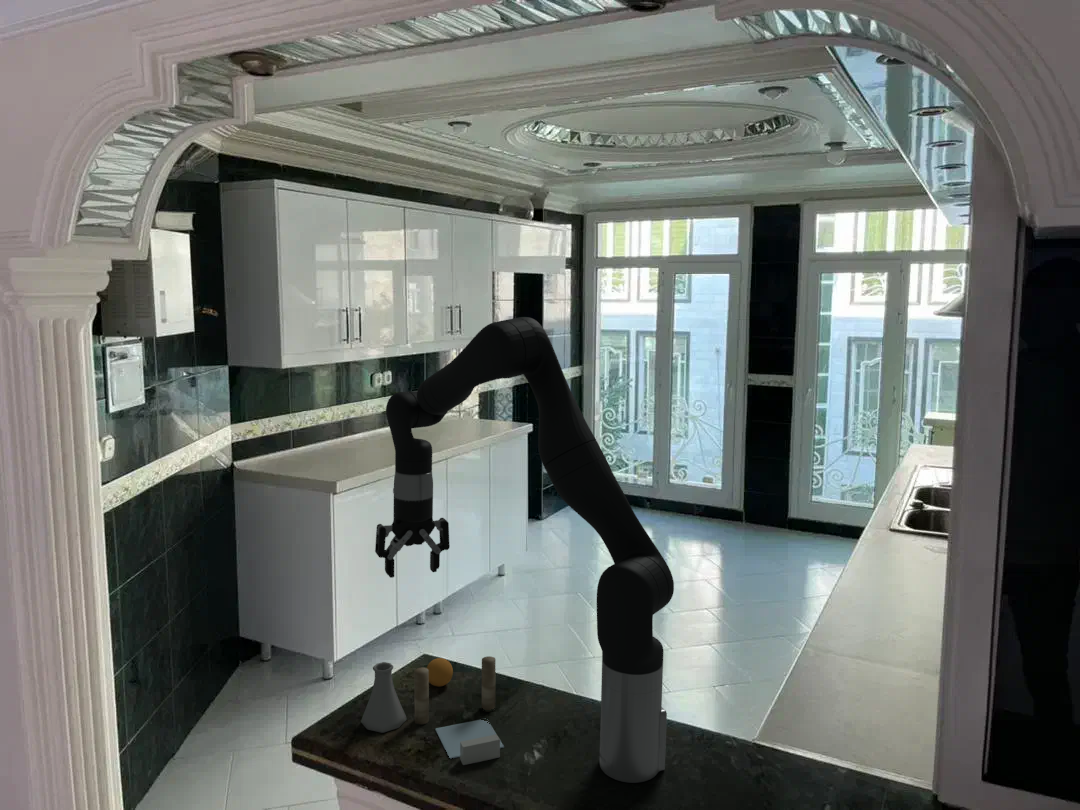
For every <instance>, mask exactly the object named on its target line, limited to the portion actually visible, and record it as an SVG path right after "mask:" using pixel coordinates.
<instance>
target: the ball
mask: <svg viewBox="0 0 1080 810" xmlns="http://www.w3.org/2000/svg"><path fill="white" fill-rule="evenodd" d="M426 668H427V669H428V670H429V684H431V685H432V686H433V687H443V686H445V685H448V683H449V682H451V680H452V678H453V675H454V670H453V666H452V664H451V662H450V660H448V659H445V658H443V657H437V658H434V659H432V660H431V661H430V662H428V664H427V666H426Z"/></svg>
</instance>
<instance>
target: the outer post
mask: <svg viewBox="0 0 1080 810" xmlns="http://www.w3.org/2000/svg"><path fill="white" fill-rule="evenodd" d="M413 673H414V674H413V676H414V677H413V678H414V679H413V680H414V681H413V683H414V685H413V686H414V690H413V691H414V692H413V693H414V694H413V695H414V723H415V724H417V725H426V724H428V723H429V721H430V703H429V702H430V698H429V697H430V696H429V695H430V691H429V690H430V688H429V687H430V685H429V684H430V682H429V670H428V669H427V667H418V668H415V669H414V670H413Z"/></svg>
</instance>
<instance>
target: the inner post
mask: <svg viewBox="0 0 1080 810" xmlns="http://www.w3.org/2000/svg"><path fill="white" fill-rule="evenodd" d="M482 708H483V709H485V710H491V709H494V708H495V709H496V657H494V656H484V657H481V709H482ZM495 709H494V710H495Z"/></svg>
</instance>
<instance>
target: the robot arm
mask: <svg viewBox="0 0 1080 810" xmlns="http://www.w3.org/2000/svg"><path fill="white" fill-rule="evenodd" d="M519 376H524V377H525V379H526V381H527V383H528V385H529V387H530V389H531V390H532V393H533V396H534V398H535V400H536V403H537V408H538V431H537V434H538V437H537V439H538V440H537V441H538V442H537V445H538V454H539V457H540V460H541V463H542V466H543V467H544V469H545V471H546V474H547V476H548V477H549V480H550V482H551V483H552V486H553V487H554V489H555V491H556V493H558V496H559V497H560V498H561V499H562V500H563V501H564V502H565V503H566V505H568V506H569V508H571V509H572V510H573V511H574V512H575V513H576V514H578V516H579V517H581V519H583V520H584V521H586V523H588V524H589V526H591V527H592V528H593V529H594V530H595V532H596V533H597V534H598V536H599V537H600V538H601V540H602V541H603V544H604V545H605V547H606V550H607V551H608V554H609V555H610V557H611V559H612V562H613V564H612V565H610V566H608V567H607V568H605V570H603V572H602V574H600V576H599V580H598V582H597V583H598V584H597V587H596V629H597V630H596V631H597V641H598V645H599V646H600V648H601V686H600V687H601V692H600V693H601V694H600V695H601V696H600V697H601V699H600V729H599V730H600V732H599V733H600V734H599V735H600V737H599V752H598V753H599V767H600V769H601V772H603V773H604V774H605V776H608V777H610V778H612V779H614V780H616V781H619V782H622V783H628V784H629V783H633V784H637V783H643V782H647V781H649V780H651V779H653V778H655V776H657V774H658V773H659V772H661V771H664V770H665V769H666V768H665V767H666V750H667V749H666V746H667V717H668V716H667V715H668V713H667V710H666V709H665V708H663V707H662V706H663V704H662V701H663V679H664V678H663V677H664V676H663V675H664V647H663V644H662V643H661V641H660V640H659V639H658V638H657V637H655V636H654V635H653V632H654V631H653V629H654V627H653V621H654V620H653V615H654V614H657V613H658V612H659V611H661V610H662V609H663V608H665V607H666V606H667V605H668V604H669V603H670V602H671V600H672V598H673V596H674V590H675V582H674V578H673V575H672V571H671V570H670V568H669V565H668V564H667V562H666V560H665V559H664V556H663V555H662V554H661V552H660V551H659V549H658V548H657V546H656V545H655V543H654V541H653V540H652V538H651V537H650V535H649V534H648V532H647V531H646V529H645V527H644V526H643V525H642V524H641V522H640V521H639V519H638V517H637V515H636V514H635V511H634V510H633V508H632V506H631V504H630V502H629V500H628V499H627V496H626V495H625V493H624V491H623V489H622V487H621V485H620V484H619V482H618V480H617V478H616V476H615V474H614V473H613V470H612V468H611V466H610V464H609V462H608V460H607V458H606V456H605V454H604V452H603V451H602V448H601V447H600V444H599V443H598V440H597V439H596V437H595V436H594V433H593V432H592V430H591V428H590V427H589V424H588V423H587V421H586V419H585V417H584V415H583V413H582V410H581V409H580V407H579V404H578V402H577V400H576V398H575V396H574V395H573V392H572V390H571V388H570V386H569V384H568V381H567V379H566V377H565V375H564V372H563V369H562V366H561V364H560V362H559V359H558V356H557V354H556V352H555V349H554V346H553V344H552V341H551V340H550V337H549V336H548V334H547V332H546V330H545V329H544V327H543V326H542V325H541V323H539V322H538V321H537V320H536V319H534V318H532V317H530V316H529V317H528V316H519V317H515V318H510V319H503V320H499V321H498V320H497V321H494V322H492V323H489V324H487V325H486V326H484V327H482V329H481V330H479V331H478V333H476V334H475V336H474V337H473V338H472V339H471V340H470V341H469V343H467V344H466V346H465V347H464V348H463V349H462V350H461V351H460V353H458V354H457V355H456V357H454V358H453V359H452V360H451V361H450V362H448V363H447V364H446V365H445V366H444V367H442V368H440V369H439V370H438V371H436V372H435V373H432V375H430V376H428V377H427V378H426V379H424V380H423V381H422V382H421V383H420V384H419V386H418V387H417V390H413V391H412V390H411V391H400V392H399V391H398V392H395V393H393V394H392V395H390V397H389V399H388V401H387V403H386V407H385V415H386V419H387V420H386V421H387V423H388V426H389V429H390V433H391V438H392V442H393V445H394V447H393V448H394V452H395V454H394V456H395V457H394V459H395V461H394V464H395V466H394V468H395V469H394V478H393V488H392V493H393V520H392V524H390V525H389V524H388V525H383V524H382V523H378V524H377V525H376V531H375V532H376V534H375V544H374V545H375V546H374V547H375V548H374V549H375V550H374V552H375V554H376V555H377V556H378V558H381V559H382V558H383V559H384V571H385V574H386V575H387V576H388V577H389V578H395V558H394V557H395V556H396V555H397V554H398V553H399V552H400V551H401V550H402V549H403V547H404V546H405V547H410V546H413V545H418V546H419V545H421V546H422V545H423V544H424V543H426V545H428V547H429V548H430V549H431V551H429V552H430V553H429V569H430V571H431V572H432V573H436V572H437V570H439V568H440V562H441V561H440V556H441V553H442V552H443V551H447V550H449V549H450V527H449V521H447V519H445V518H444V517H440V518H439V519H437V520H434V519H433V516H434V515H433V513H434V509H433V508H434V477H433V446H432V444H431V442H430V441H429V440H427V439H426V440H425V439H422V438H415V437H414V434H413V431H412V429H417V428H427V427H432V426H434V425H436V424H438V423H440V422H441V421H442V420H443V419H444V418H445V416H446V415H447V413H448V411H450V410H453V409H454V408H455V407H458V406H459V405H461V404H462V403H464V401H466V400H467V399H468V398H469V397H470V395H471V394H472V393H473V391H474V388H476V387H478V386H480V385H482V384H486V383H489V382H492V381H495V380H500V379H505V380H506V379H511V378H515V377H519ZM435 527H436V530H438V531H439V542H438V543H436V542H435V541H434V539H433V538H432V537H431V534H432V532H433V531H434V529H435ZM391 532H392V533H393V535H394V536H393V537H392V539H391V540H390V542H389V545H388V546H387V548H386V538H388V537H389V535H390V533H391Z"/></svg>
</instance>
